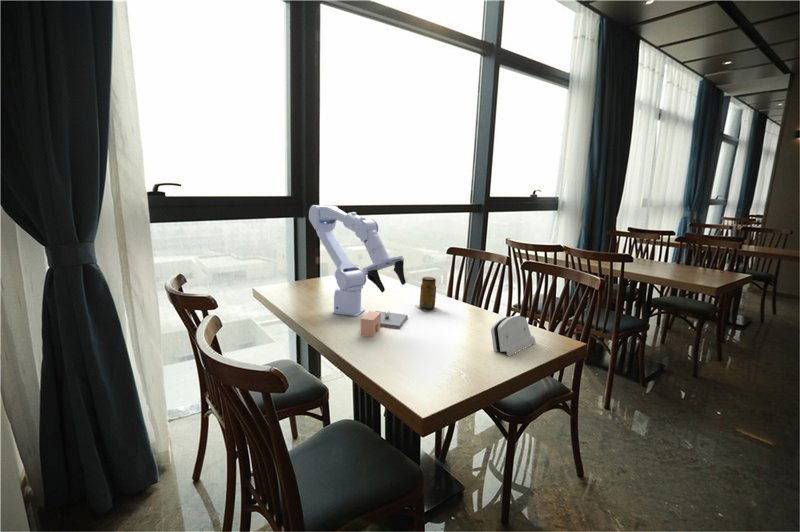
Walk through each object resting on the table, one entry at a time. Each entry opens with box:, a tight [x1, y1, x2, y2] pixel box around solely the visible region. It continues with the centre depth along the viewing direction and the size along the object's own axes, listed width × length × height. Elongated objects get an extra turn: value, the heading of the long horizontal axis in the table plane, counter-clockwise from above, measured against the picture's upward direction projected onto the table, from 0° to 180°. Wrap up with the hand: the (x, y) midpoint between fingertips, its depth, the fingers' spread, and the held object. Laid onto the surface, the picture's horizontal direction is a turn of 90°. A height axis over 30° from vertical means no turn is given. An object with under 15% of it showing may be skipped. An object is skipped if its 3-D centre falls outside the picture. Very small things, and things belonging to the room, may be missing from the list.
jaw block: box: [359, 310, 382, 338], centre depth 122 cm, size 4×8×6 cm, turn 166°
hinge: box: [490, 315, 536, 356], centre depth 116 cm, size 17×5×10 cm, turn 134°
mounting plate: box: [374, 310, 408, 330], centre depth 133 cm, size 12×12×1 cm
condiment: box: [415, 276, 441, 313], centre depth 149 cm, size 7×8×12 cm
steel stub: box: [384, 310, 391, 319], centre depth 133 cm, size 2×2×2 cm
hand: (393, 287), depth 123 cm, fingers open, 7 cm apart
